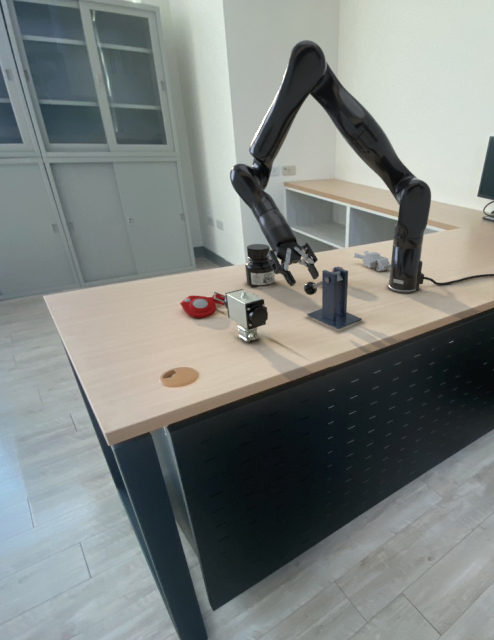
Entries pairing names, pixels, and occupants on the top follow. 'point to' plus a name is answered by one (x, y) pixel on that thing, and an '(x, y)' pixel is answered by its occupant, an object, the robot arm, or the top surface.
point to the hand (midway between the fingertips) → (305, 281)
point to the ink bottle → (259, 266)
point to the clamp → (334, 301)
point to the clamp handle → (318, 284)
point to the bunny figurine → (374, 260)
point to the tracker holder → (202, 305)
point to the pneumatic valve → (246, 312)
